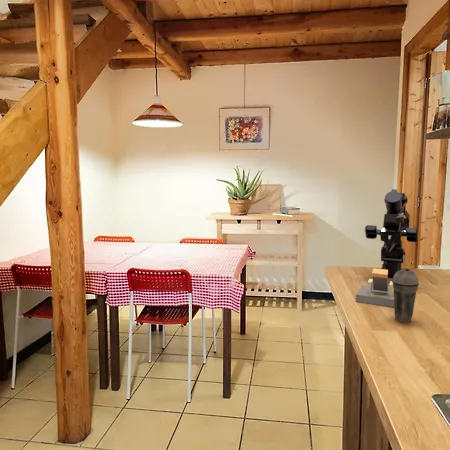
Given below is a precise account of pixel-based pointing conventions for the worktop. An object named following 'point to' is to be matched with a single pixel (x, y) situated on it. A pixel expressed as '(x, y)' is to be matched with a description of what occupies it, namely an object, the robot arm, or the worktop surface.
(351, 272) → the worktop surface
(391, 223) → the robot arm
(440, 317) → the worktop surface
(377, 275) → the lever
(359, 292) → the breaker base
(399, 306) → the beverage cup
